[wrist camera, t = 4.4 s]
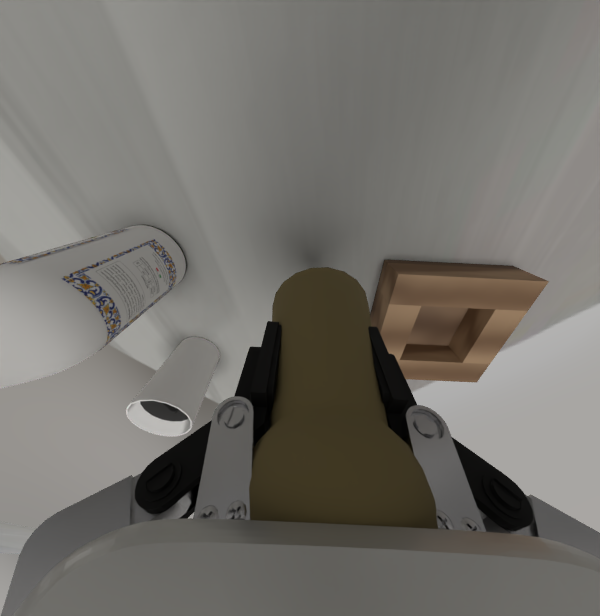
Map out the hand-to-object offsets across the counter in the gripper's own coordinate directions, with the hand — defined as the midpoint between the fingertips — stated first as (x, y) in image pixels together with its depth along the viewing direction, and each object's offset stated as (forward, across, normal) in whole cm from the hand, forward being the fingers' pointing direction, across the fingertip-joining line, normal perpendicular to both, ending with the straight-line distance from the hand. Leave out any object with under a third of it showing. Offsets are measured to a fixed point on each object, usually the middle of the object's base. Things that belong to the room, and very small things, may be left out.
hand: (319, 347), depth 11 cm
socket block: (+14, -15, +8) cm, 22 cm away
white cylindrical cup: (+14, +15, +15) cm, 26 cm away
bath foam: (+14, +17, +2) cm, 23 cm away
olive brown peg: (+4, 0, 0) cm, 4 cm away
